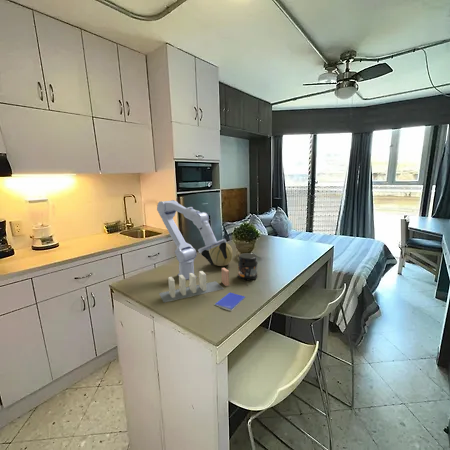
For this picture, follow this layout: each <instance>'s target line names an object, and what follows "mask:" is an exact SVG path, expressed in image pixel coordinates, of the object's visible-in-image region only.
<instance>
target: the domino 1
mask: <svg viewBox="0 0 450 450" xmlns="http://www.w3.org/2000/svg"><path fill="white" fill-rule="evenodd" d="M167 278H168V281H167V282H168V291H169V294H170V296H171V297H172V298H174V297H175V290H176V284H175V279H174V277H173V276H169V277H167Z"/></svg>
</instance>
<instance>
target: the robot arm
mask: <svg viewBox="0 0 450 450" xmlns="http://www.w3.org/2000/svg"><path fill="white" fill-rule="evenodd" d="M156 211H157V212H158V214H159V217H160V218H161V221H162V222H163V224H164V226H165V229H166V230H167V232H168V233H169V235H170V237H171V240H173V242H174V245H175V246H176V249H175V250H174V253H175V256H176V260H177V261H178V272H179V273H177V276H178V277H179V275H183V276H184V277H185V279H186V281H187V280H188V281H189V273H193V274H194V275H195V268H194V265H195V264H194V263H195V262H194V261H195V259H196V257H197V251H198V253H199V254H201V256H203V257H204V258H205V259H206V261H208V263H209V264H210V265H211V266H213V265H215V264H214V263H213V261H212V259H211V256H210V253H209V251H210V249H211V248H214V247H216V246H219V245H220V246H219V249H220V250H221V252H222V254H223V256H224V258H225V259H227V253H226V243H227V242H228V241H227V239H226V238H223V239H220V240H217V238H216V236H215V234H214V232H213V231H214V230H213V229H212V226H211V225H210V217H209V215H208V213H207V212H206V211H202V212H201V211H200V210H197V209H194V207H193V206H189V207H185V206H184V205H182V204H180V203H179V201H176V200H174V199H172V200H165V201H164V200H163V201H162V200H161V201H159V202H158V203H157V207H156ZM177 212H178V213H180V214H182V215H183V217H184V219H187V220H189V221H192V223H193V225H194V226H196V229H198V231H199V232H200V236H201V238H202V240H203V242H204V246H202V247H200V248H198V249H197V251H196V248H194V247H193V246H192V244H190V243H189V242H186V240H185V238H184V236H183V235H182V233H181V231H180V228H179V227H178V225H177V224H176V222H175V220H174V217H175V216H176V213H177ZM214 245H216V246H214ZM212 246H213V247H212ZM196 279H197V276H196Z"/></svg>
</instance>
